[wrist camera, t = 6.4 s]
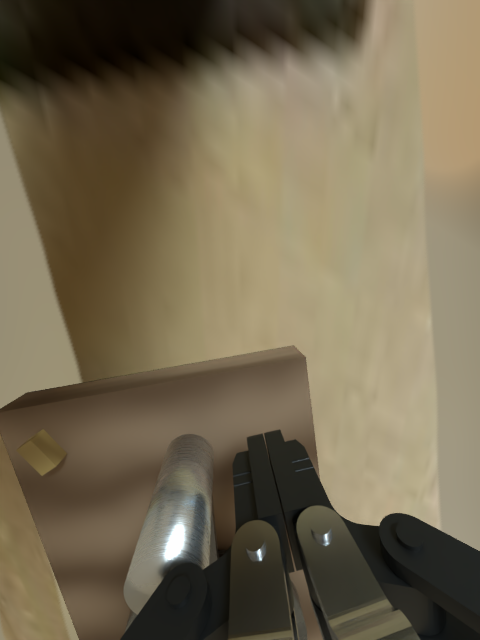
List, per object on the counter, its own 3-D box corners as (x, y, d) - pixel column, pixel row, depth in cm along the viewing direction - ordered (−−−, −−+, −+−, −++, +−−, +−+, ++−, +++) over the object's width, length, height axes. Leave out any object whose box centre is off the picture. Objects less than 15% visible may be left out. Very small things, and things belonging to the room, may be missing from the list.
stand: (26, 392, 17) (-25, 423, 13) (293, 345, 17) (311, 363, 14) (119, 659, 21) (99, 733, 18) (326, 612, 22) (346, 675, 18)
